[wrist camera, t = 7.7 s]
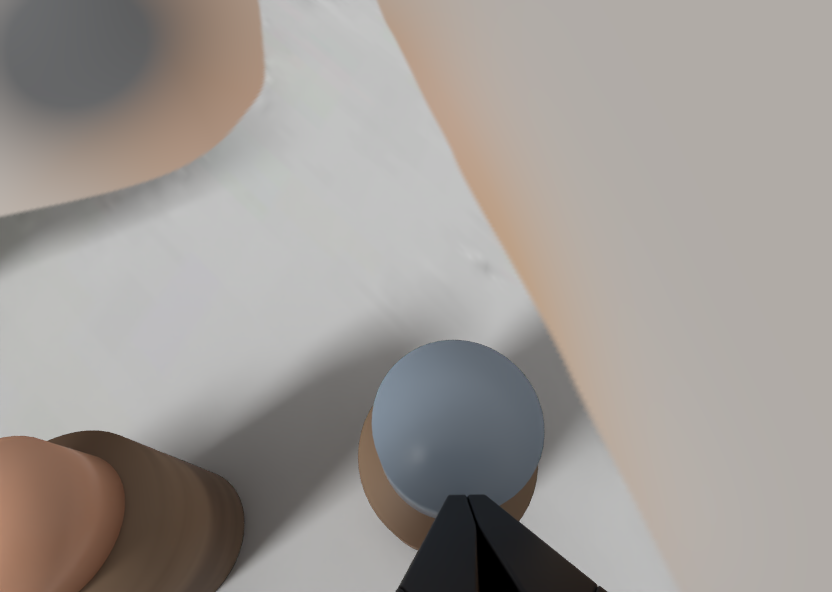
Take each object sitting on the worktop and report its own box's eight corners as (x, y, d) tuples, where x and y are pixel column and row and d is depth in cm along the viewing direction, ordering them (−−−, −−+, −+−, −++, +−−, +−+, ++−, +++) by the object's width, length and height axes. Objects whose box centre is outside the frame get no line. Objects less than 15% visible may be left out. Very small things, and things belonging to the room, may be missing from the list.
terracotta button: (147, 457, 14) (100, 441, 12) (83, 628, 11) (10, 644, 9) (17, 449, 14) (-52, 430, 12) (-73, 615, 11) (-178, 629, 9)
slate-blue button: (518, 375, 14) (536, 344, 12) (528, 526, 12) (553, 521, 9) (386, 367, 14) (381, 335, 12) (370, 515, 12) (360, 506, 10)
